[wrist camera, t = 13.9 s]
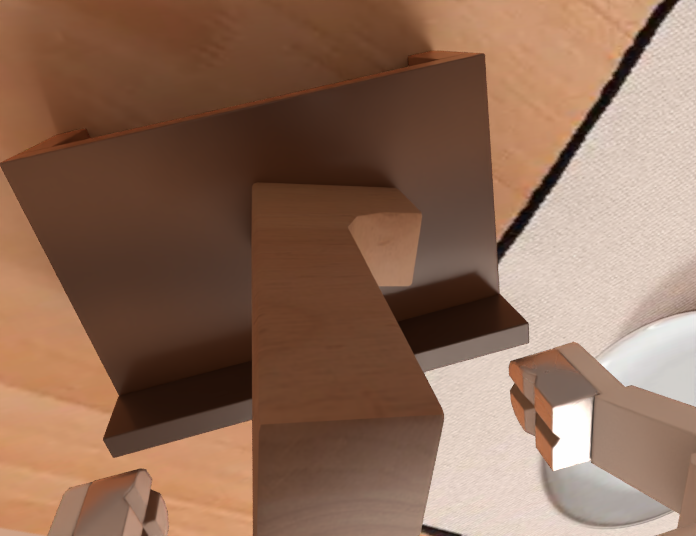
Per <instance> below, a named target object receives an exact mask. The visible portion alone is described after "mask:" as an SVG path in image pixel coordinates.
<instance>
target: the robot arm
mask: <svg viewBox="0 0 696 536" xmlns="http://www.w3.org/2000/svg"><path fill="white" fill-rule="evenodd" d="M509 376H510V377H511V378H512V380H513V381H514V382H515V383H514V385H513V387H512V388H511V390H510V396H511V403H512V407H513V410H514V413H515V415H516V417H517V419H518V421H519V423H520V425H521V426H522V428H523V429H524V431H525V432H527V433H529V434H531V435H534V436H535V437H536V448H537V449H538V451H539V452H540V454H541V455H542V456H543V458H544V459H545V461H546V462H547V464H548V465H549V466H550V468H551V469H552V471H555V470H558V469H562V468H566V467H569V466H573V465H576V464H580V463H584V462H587V461H591V463H593V464H595V465H596V466H598V467H600V468H601V469H603V470H605V471H607V472H608V473H610V474H612V475H613V476H615V477H617V478H619V479H620V480H622V481H624V482H625V483H627V484H629V485H631V486H632V487H634V488H636V489H637V490H639V491H641V492H643V493H644V494H646V495H648V496H649V497H651V498H653V499H655V500H656V501H658V502H660V503H661V504H663V505H665V506H667V507H668V508H670V509H672V510H673V511H675V512H677V513H679V514H680V516H679V522H678V527H677V529H674V530H671V531H668V532H665V533H662V534H659V535H656V536H696V407H694V406H691V405H688V404H685V403H682V402H679V401H676V400H674V399H671V398H668V397H665V396H662V395H659V394H656V393H653V392H650V391H647V390H644V389H641V388H638V387H635V386H632V385H631V386H627V387H625V386H624V385H622V384H621V383H620V382H619V381H618V380H617V379H616V378H615V377H614V376H613V375H612V374H611V373H610V372H609V371H607V370H606V369H605V368H604V367H603V366H602V365H601V364H600V363H599V362H598V361H597V360H596V359H595V358H593V357H592V356H591V355H590V354H589V353H588V352H587V351H586V350H585V349H584V348H583V347H582V346H581V345H580V344H578V343H575V342H572V343H568V344H565V345H562V346H559V347H555V348H553V349H549V350H546V351H543V352H539V353H536V354H533V355H529V356H526V357H523V358H519V359H516V360H513V361H510V364H509ZM151 483H152V478H151V477H150V475H149V474H148V472H147V470H146V469H137V470H133V471H129V472H126V473H122V474H118V475H114V476H110V477H107V478H103V479H99V480H95V481H93V482H90V483H86V484H82V485H78V486H75V487H71V488H69V489H68V490H67V491H66V492H65V493H64V494H63V497H62V499H61V502H60V504H59V507H58V509H57V512H56V515H55V517H54V520H53V522H52V525H51V527H50V530H49V533H48V535H47V536H168V529H169V522H168V511H167V508H166V505H165V501H164V500H163V498H162V496H161V494H160V493H158V492H156V491H153V490H151Z"/></svg>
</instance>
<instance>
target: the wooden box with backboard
mask: <svg viewBox="0 0 696 536" xmlns="http://www.w3.org/2000/svg"><path fill="white" fill-rule="evenodd" d="M408 65H409V67H404V68H400V69H396V70H391V71H387V72H382V73H378V74H373V75H369V76H365V77H360V78H356V79H351V80H347V81H342V82H338V83H334V84H329V85H325V86H320V87H316V88H311V89H307V90H303V91H298V92H294V93H289V94H285V95H280V96H276V97H271V98H267V99H263V100H258V101H254V102H249V103H245V104H240V105H236V106H232V107H227V108H223V109H218V110H214V111H209V112H205V113H201V114H196V115H192V116H187V117H183V118H178V119H174V120H170V121H165V122H161V123H156V124H152V125H147V126H143V127H139V128H134V129H130V130H125V131H121V132H116V133H112V134H107V135H103V136H99V137H94V138H90V137H89V134H88V132H87V130H86V129H80V130H75V131H71V132H66V133H62V134H58V135H56V136H54V137H52V138H49V139H47V140H45V141H43V142H41V143H39V144H37V145H35V146H33V147H31V148H29V149H27V150H25V151H23V152H21V153H19V154H17V155H15V156H13V157H11V158H9V159H7V160H5V161H3V162H1V163H0V166H1V168H2V170H3V172H4V174H5V176H6V178H7V180H8V182H9V184H10V186H11V187H12V189H13V191H14V193H15V195H16V197H17V199H18V201H19V203H20V205H21V207H22V209H23V211H24V213H25V215H26V216H27V218H28V220H29V222H30V224H31V226H32V228H33V230H34V232H35V234H36V236H37V238H38V240H39V242H40V244H41V246H42V247H43V249H44V251H45V253H46V255H47V257H48V259H49V261H50V263H51V265H52V267H53V269H54V271H55V273H56V275H57V276H58V278H59V280H60V282H61V284H62V286H63V288H64V290H65V292H66V294H67V296H68V298H69V300H70V302H71V304H72V306H73V307H74V309H75V311H76V313H77V315H78V317H79V319H80V321H81V323H82V325H83V327H84V329H85V331H86V333H87V335H88V336H89V338H90V340H91V342H92V344H93V346H94V348H95V350H96V352H97V354H98V356H99V358H100V360H101V362H102V364H103V365H104V367H105V369H106V371H107V373H108V375H109V377H110V379H111V381H112V383H113V385H114V387H115V389H116V391H117V393H118V395H119V397H118V399H117V402H116V405H115V407H114V410H113V413H112V416H111V418H110V421H109V424H108V427H107V429H106V432H105V435H104V437H103V441H104V442H105V444H106V446H107V448H108V449H109V451H110V453H111V455H112V457H113V458H115V457H119V456H123V455H126V454H130V453H133V452H137V451H141V450H144V449H148V448H151V447H155V446H159V445H162V444H166V443H169V442H173V441H177V440H180V439H184V438H188V437H191V436H195V435H198V434H202V433H206V432H209V431H213V430H216V429H220V428H224V427H227V426H231V425H235V424H238V423H242V422H245V421H249V420H252V270H251V235H252V186H253V184H254V183H257V182H259V183H285V184H311V185H338V186H362V187H387V188H397V189H399V190H400V191H401V192H402V193H403V194H404V195H405V196H406V197H407V198H408V199H409V200H410V201H411V202H412V203H413V204H414V205H415V206H416V207H417V208H418V209H419V210H420V211H421V213H422V221H421V228H420V234H419V241H418V247H417V254H416V261H415V267H414V274H413V280H412V284H411V285H410V286H379V288H380V290H381V292H382V294H383V296H384V298H385V300H386V302H387V303H388V305H389V307H390V309H391V311H392V313H393V315H394V317H395V319H396V321H397V323H398V325H399V327H400V328H401V330H402V332H403V334H404V336H405V338H406V340H407V342H408V344H409V346H410V348H411V350H412V352H413V353H414V355H415V357H416V359H417V361H418V363H419V365H420V367H421V369H422V371H423V372H426V371H430V370H433V369H437V368H440V367H444V366H448V365H451V364H455V363H458V362H462V361H466V360H469V359H473V358H477V357H480V356H484V355H487V354H491V353H495V352H498V351H502V350H505V349H509V348H513V347H516V346H520V345H524V344H527V343H529V324H528V322H527V321H526V320H525V319H524V318H523V317H522V316H521V315H520V314H519V313H518V312H517V311H516V310H515V309H514V308H513V307H512V306H511V305H510V304H509V303H508V302H507V301H506V300H505V299H504V298H503V297H502V296H501V295H500V292H499V276H498V260H497V244H496V228H495V211H494V195H493V179H492V163H491V147H490V131H489V115H488V99H487V83H486V67H485V54H483V53H467V52H450V51H434V50H433V51H428V52H424V53H419V54H415V55H410V56H408Z"/></svg>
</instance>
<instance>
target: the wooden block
mask: <svg viewBox="0 0 696 536" xmlns="http://www.w3.org/2000/svg"><path fill="white" fill-rule="evenodd" d="M421 221H422V213H421V211H420V210H419V209H418V208H417V207H416V206H415V205H414V204H413V203H412V202H411V201H410V200H409V199H408V198H407V197H406V196H405V195H404V194H403V193H402V192H401V191H400V190H399V189H397V188H387V187H362V186H338V185H311V184H285V183H259V182H257V183H254V184H253V186H252V235H251V270H252V454H253V536H419V535H420V532H421V527H422V523H423V518H424V513H425V508H426V503H427V499H428V494H429V489H430V484H431V480H432V475H433V470H434V465H435V461H436V456H437V451H438V446H439V441H440V437H441V432H442V427H443V422H444V413H443V410H442V407H441V405H440V403H439V402H438V400H437V398H436V396H435V394H434V392H433V390H432V388H431V386H430V384H429V382H428V380H427V378H426V377H425V375H424V373H423V371H422V369H421V367H420V365H419V363H418V361H417V359H416V357H415V355H414V353H413V352H412V350H411V348H410V346H409V344H408V342H407V340H406V338H405V336H404V334H403V332H402V330H401V328H400V327H399V325H398V323H397V321H396V319H395V317H394V315H393V313H392V311H391V309H390V307H389V305H388V303H387V302H386V300H385V298H384V296H383V294H382V292H381V290H380V288H379V286H410V285H411V284H412V280H413V274H414V267H415V261H416V254H417V247H418V241H419V234H420V228H421Z"/></svg>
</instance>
